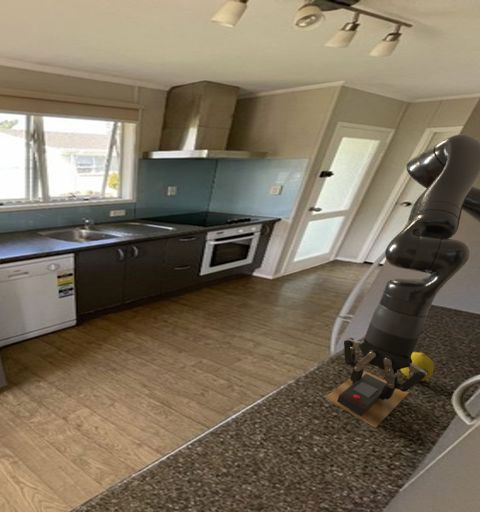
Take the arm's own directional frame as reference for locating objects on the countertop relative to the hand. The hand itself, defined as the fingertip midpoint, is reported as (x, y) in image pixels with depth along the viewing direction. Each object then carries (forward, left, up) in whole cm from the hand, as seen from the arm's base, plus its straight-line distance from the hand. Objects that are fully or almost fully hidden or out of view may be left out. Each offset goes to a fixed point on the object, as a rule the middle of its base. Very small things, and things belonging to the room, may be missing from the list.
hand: (368, 390), depth 66 cm
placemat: (0, 0, -2) cm, 2 cm away
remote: (+2, +3, 0) cm, 3 cm away
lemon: (-12, -12, -2) cm, 17 cm away
